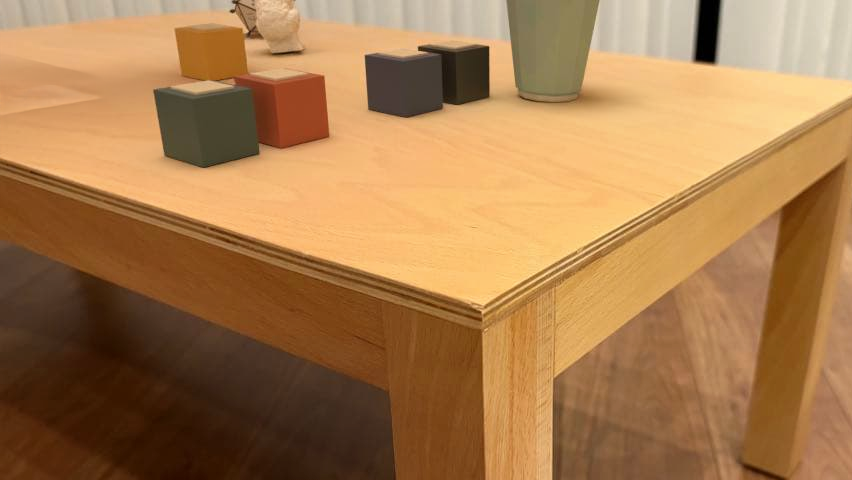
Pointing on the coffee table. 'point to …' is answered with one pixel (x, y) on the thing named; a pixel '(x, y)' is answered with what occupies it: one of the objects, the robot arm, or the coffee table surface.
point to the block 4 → (462, 70)
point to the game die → (246, 14)
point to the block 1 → (207, 122)
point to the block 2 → (287, 106)
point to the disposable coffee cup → (550, 46)
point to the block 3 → (404, 82)
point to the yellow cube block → (211, 51)
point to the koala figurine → (279, 25)
